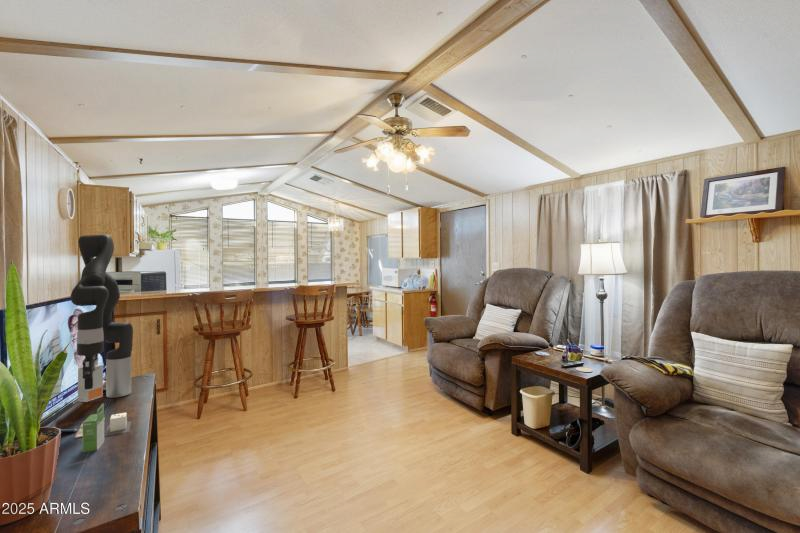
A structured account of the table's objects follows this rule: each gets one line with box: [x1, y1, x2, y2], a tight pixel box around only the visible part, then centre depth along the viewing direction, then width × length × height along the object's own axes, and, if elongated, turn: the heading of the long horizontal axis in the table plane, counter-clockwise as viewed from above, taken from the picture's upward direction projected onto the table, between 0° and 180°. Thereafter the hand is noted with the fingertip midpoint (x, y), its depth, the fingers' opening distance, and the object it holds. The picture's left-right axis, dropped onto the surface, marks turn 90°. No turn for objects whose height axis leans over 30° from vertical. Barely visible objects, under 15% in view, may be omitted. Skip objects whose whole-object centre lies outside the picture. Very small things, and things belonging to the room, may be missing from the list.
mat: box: [104, 420, 132, 437], centre depth 135 cm, size 10×7×1 cm
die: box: [109, 412, 128, 432], centre depth 136 cm, size 4×4×5 cm
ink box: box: [82, 402, 105, 453], centre depth 122 cm, size 7×4×13 cm, turn 23°
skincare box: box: [77, 363, 104, 403], centre depth 135 cm, size 6×4×12 cm
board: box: [73, 417, 107, 440], centre depth 135 cm, size 15×7×1 cm, turn 33°
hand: (90, 385), depth 135 cm, fingers closed on skincare box, 7 cm apart
